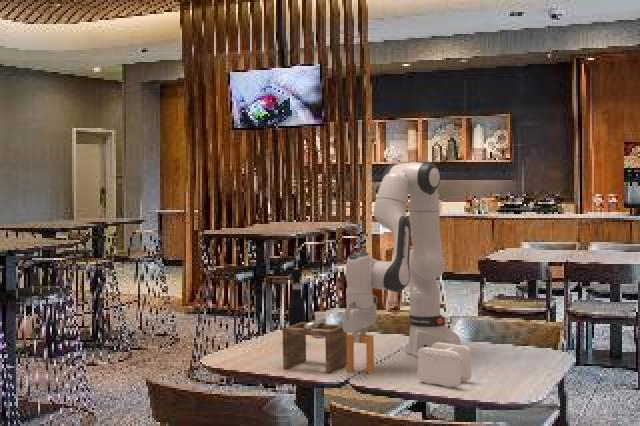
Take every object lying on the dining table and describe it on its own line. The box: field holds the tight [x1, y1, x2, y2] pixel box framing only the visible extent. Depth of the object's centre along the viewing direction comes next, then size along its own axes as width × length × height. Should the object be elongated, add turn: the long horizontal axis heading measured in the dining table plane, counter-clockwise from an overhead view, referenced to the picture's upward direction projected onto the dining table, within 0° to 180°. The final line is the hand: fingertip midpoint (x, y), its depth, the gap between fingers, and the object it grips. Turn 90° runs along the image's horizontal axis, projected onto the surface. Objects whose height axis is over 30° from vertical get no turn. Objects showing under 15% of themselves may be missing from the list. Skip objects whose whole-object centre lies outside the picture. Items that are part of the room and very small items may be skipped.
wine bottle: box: [288, 268, 306, 327], centre depth 323 cm, size 6×6×30 cm
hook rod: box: [304, 318, 327, 330], centre depth 287 cm, size 2×13×2 cm, turn 153°
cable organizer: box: [417, 342, 472, 389], centre depth 262 cm, size 15×11×12 cm
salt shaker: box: [312, 311, 327, 339], centre depth 341 cm, size 8×8×10 cm
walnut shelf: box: [282, 321, 348, 375], centre depth 287 cm, size 18×14×14 cm
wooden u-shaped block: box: [346, 333, 375, 374], centre depth 279 cm, size 9×2×12 cm, turn 63°
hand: (359, 341), depth 279 cm, fingers closed on wooden u-shaped block, 2 cm apart
